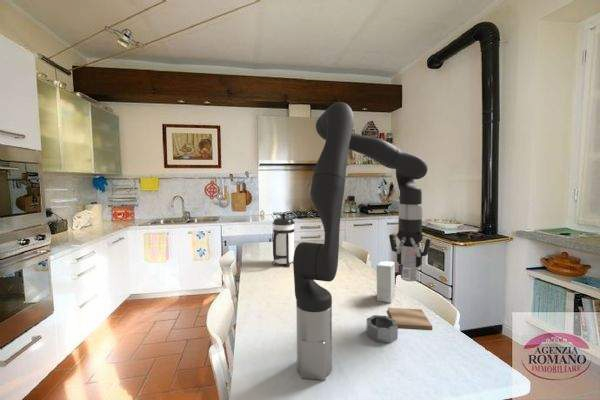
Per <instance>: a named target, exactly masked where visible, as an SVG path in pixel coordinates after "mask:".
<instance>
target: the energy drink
mask: <svg viewBox="0 0 600 400" xmlns="http://www.w3.org/2000/svg"><path fill="white" fill-rule="evenodd" d="M416 257H417V254H416V251H415V250H414V248H413V247H410V246H404V245H403V247H402V249H401V264H400V278H401V279H402V280H403V281H405V282H416V281H417V280H418V267H416Z"/></svg>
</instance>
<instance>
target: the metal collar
mask: <svg viewBox="0 0 600 400" xmlns="http://www.w3.org/2000/svg"><path fill="white" fill-rule="evenodd" d="M365 330H366V334H367V337H368V338H369V339H371V340H373V341H375V342H376V343H380V344H381V343H385V344H392V342H395V341H397V340H398V334H399V331H398V330H399V327H398V326H397V324H396V321H395V320H394V319H391V317H389V316H387V315H380V314H378V315H376V314H372V315H371V316H369V317H367V318H366V329H365Z"/></svg>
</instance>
